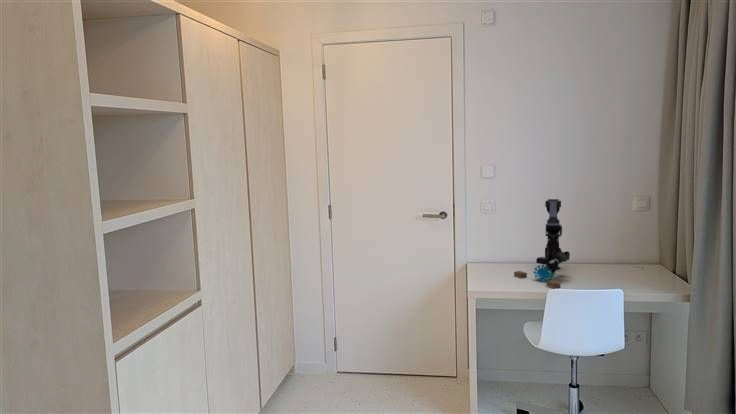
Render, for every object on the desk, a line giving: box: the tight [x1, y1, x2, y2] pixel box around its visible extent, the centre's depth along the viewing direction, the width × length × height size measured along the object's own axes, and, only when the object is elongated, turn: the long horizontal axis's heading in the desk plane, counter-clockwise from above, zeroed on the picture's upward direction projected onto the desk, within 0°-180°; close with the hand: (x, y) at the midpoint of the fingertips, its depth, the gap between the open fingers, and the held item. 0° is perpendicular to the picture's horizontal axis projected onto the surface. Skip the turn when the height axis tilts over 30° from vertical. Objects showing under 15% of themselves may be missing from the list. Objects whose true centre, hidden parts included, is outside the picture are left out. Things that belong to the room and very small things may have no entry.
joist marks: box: [513, 270, 561, 289], centre depth 286 cm, size 4×29×2 cm, turn 27°
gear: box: [533, 264, 556, 283], centre depth 289 cm, size 11×6×10 cm
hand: (552, 274), depth 291 cm, fingers closed
